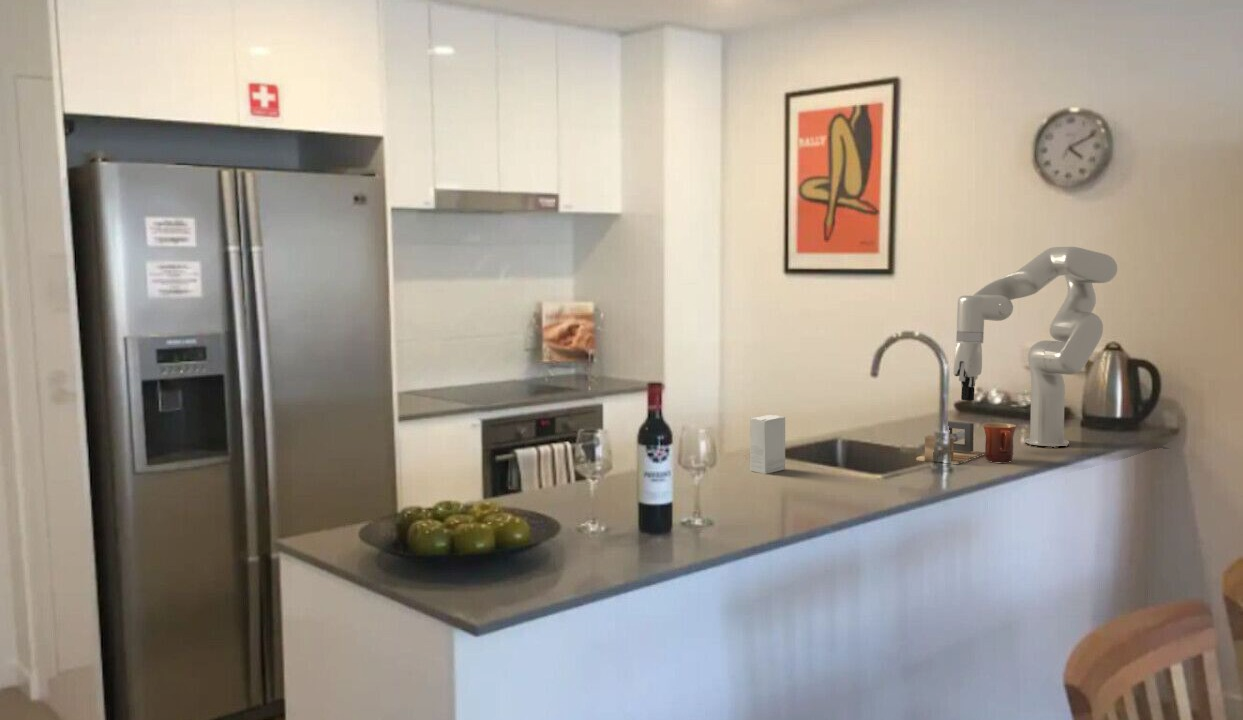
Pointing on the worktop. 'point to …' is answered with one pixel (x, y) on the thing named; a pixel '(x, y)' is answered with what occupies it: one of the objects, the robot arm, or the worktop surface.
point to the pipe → (958, 436)
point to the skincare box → (767, 444)
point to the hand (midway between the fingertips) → (967, 400)
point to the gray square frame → (968, 435)
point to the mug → (999, 441)
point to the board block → (954, 455)
